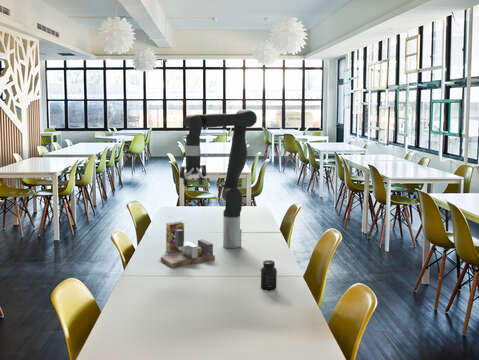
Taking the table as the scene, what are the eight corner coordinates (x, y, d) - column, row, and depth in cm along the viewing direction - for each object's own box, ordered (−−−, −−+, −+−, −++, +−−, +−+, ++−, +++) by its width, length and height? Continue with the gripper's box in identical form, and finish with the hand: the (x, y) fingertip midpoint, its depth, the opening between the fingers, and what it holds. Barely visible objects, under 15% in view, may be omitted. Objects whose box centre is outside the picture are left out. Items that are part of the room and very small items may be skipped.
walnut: (198, 252, 265) (198, 246, 264) (203, 255, 261) (203, 248, 261) (191, 254, 262) (191, 247, 262) (195, 256, 259) (195, 249, 258)
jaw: (188, 252, 265) (187, 226, 262) (197, 257, 256) (197, 230, 254) (172, 255, 260) (172, 228, 257) (181, 260, 251) (181, 232, 249)
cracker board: (202, 253, 271) (202, 238, 270) (214, 259, 261) (214, 244, 260) (161, 261, 258) (160, 245, 256) (172, 267, 248) (171, 251, 246)
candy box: (169, 253, 271) (169, 224, 268) (165, 250, 274) (165, 223, 272) (184, 250, 276) (184, 222, 273) (180, 248, 279) (180, 221, 277)
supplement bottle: (259, 285, 226) (260, 259, 224) (275, 285, 226) (275, 259, 224) (261, 291, 219) (262, 264, 217) (277, 291, 219) (278, 264, 217)
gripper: (201, 152, 270) (201, 183, 272) (177, 154, 262) (177, 185, 264) (208, 154, 264) (208, 185, 266) (184, 155, 256) (184, 188, 258)
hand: (193, 185), depth 265 cm, fingers open, 8 cm apart
